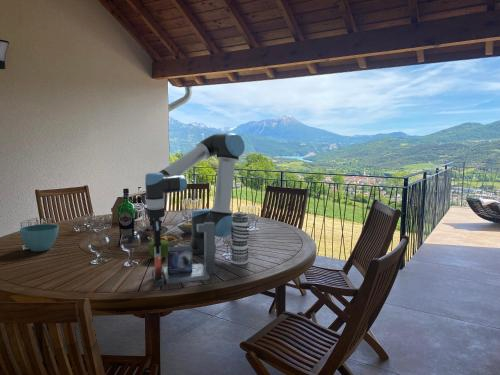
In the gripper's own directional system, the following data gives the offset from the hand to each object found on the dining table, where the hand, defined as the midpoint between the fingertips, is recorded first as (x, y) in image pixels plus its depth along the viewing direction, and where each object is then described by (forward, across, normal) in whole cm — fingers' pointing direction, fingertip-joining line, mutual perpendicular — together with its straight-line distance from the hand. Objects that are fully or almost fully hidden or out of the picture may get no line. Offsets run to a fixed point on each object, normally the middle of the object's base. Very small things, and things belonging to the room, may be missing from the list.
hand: (157, 259), depth 155 cm
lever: (+5, +11, -1) cm, 12 cm away
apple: (+7, -22, +2) cm, 23 cm away
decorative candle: (+8, -5, +40) cm, 41 cm away
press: (+7, +7, +11) cm, 14 cm away
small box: (+5, +6, +9) cm, 12 cm away
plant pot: (+6, -56, -58) cm, 81 cm away
